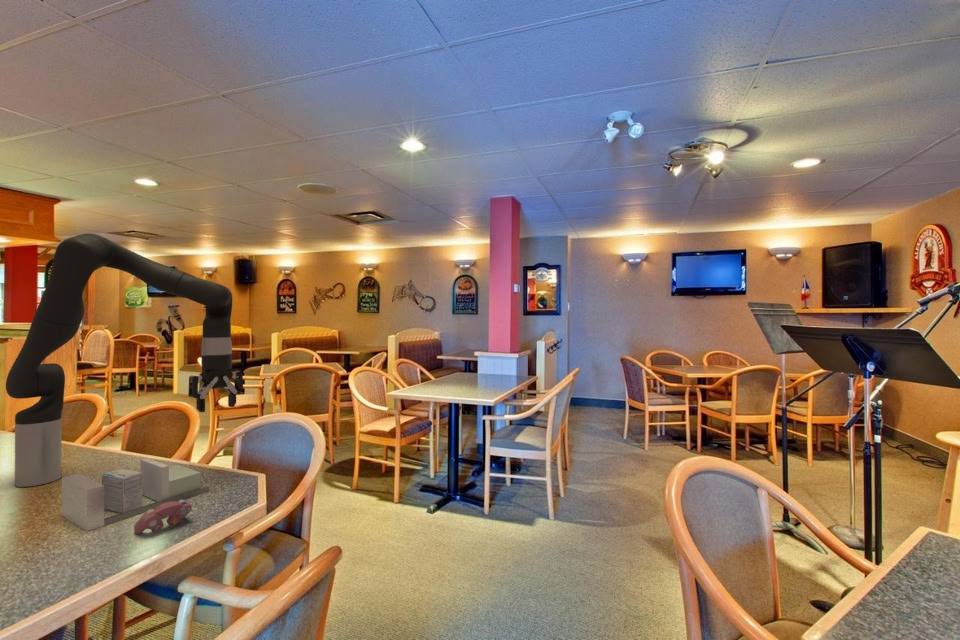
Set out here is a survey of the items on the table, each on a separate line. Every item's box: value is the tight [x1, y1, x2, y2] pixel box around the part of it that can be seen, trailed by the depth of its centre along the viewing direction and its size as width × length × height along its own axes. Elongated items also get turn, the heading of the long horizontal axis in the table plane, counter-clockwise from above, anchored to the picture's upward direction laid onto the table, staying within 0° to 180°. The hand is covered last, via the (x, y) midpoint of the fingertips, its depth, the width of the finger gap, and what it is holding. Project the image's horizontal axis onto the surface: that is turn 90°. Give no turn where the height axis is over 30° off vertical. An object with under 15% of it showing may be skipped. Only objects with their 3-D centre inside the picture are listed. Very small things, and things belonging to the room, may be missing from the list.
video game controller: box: [133, 499, 193, 535], centre depth 95 cm, size 10×5×7 cm, turn 148°
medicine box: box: [101, 468, 144, 514], centre depth 105 cm, size 8×4×9 cm, turn 71°
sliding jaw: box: [139, 457, 201, 502], centre depth 114 cm, size 12×9×9 cm
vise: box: [61, 472, 210, 532], centre depth 108 cm, size 15×26×9 cm, turn 150°
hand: (216, 409), depth 124 cm, fingers open, 8 cm apart
